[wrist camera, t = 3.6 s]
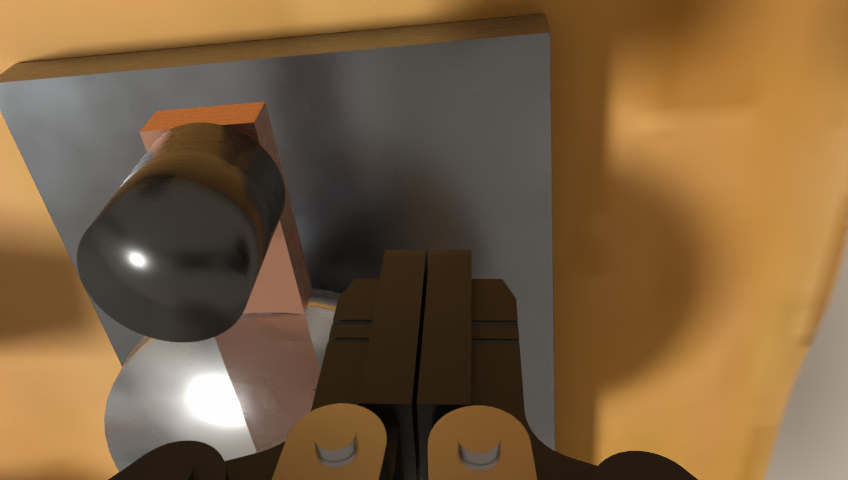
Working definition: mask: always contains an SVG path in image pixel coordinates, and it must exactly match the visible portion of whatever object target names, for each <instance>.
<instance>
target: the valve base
mask: <svg viewBox="0 0 848 480" xmlns="http://www.w3.org/2000/svg"><path fill="white" fill-rule="evenodd" d="M256 102H265V103H266V107H267V111H268V115H269V119H270V123H271V127H272V131H273V135H274V139H275V142H276V146H277V150H278V154H279V158H280V162H281V166H282V170H283V174H284V178H285V182H286V186H287V190H288V194H289V198H290V202H291V206H292V210H293V214H294V218H295V222H296V226H297V230H298V234H299V238H300V242H301V246H302V250H303V254H304V258H305V262H306V266H307V270H308V274H309V278H310V282H311V286H312V288H313V289H322V290H327V291H332V292H337V293H343V292H344V291H345V290H346V288H347V287H348V286H349V285H350V284H351V283H352V282H353V280H354V279H380V275H381V270H382V264H383V258H384V253H385V251H386V250H427V252H428V264H429V256H430V250H472V279H503V281H504V282H505V283H506V285H507V286H508V288H509V289H510V290H511V292H512V293H513V295H514V296H515V297H516V303H517V316H518V329H519V344H520V356H521V369H522V383H523V396H524V409H525V416H526V420H527V422H528V425H529V427H530V428H531V430H532V432H533V433H534V434H535V435H536V437H537V438H538V439H539V440H540V441H541V442H543V443H544V444H545V445H546V446H548V447H549V448H551V449H552V450H554V451H555V408H554V326H553V244H552V162H551V80H550V31H549V28H548V24H547V20H546V17H545V14H536V15H525V16H514V17H504V18H493V19H482V20H472V21H461V22H450V23H440V24H429V25H418V26H408V27H397V28H387V29H376V30H365V31H355V32H344V33H333V34H323V35H312V36H301V37H291V38H280V39H269V40H259V41H248V42H238V43H227V44H216V45H206V46H195V47H184V48H174V49H163V50H152V51H142V52H131V53H120V54H110V55H99V56H88V57H78V58H67V59H57V60H46V61H35V62H25V63H16V64H14V65H13V66H12V67H10V68H9V69H7V70H6V71H5V72H3V73H2V74H0V111H1V113H2V115H3V117H4V119H5V122H6V124H7V126H8V128H9V130H10V132H11V134H12V136H13V138H14V140H15V142H16V145H17V147H18V149H19V151H20V153H21V155H22V157H23V159H24V161H25V163H26V166H27V168H28V170H29V172H30V174H31V176H32V178H33V180H34V182H35V184H36V187H37V189H38V191H39V193H40V195H41V197H42V199H43V201H44V203H45V205H46V208H47V210H48V212H49V214H50V216H51V218H52V220H53V222H54V224H55V226H56V228H57V231H58V233H59V235H60V237H61V239H62V241H63V243H64V245H65V247H66V249H67V252H68V254H69V256H70V258H71V260H72V262H73V264H74V266H75V268H76V270H77V273H78V275H79V272H78V267H77V250H78V246H79V243H80V240H81V238H82V236H83V234H84V233H85V232H86V230H87V229H88V228H89V226H90V225H91V224H92V223H93V221H94V220H95V219H96V217H97V216H98V215H99V213H100V212H101V211H102V210H103V208H104V207H105V206H106V204H107V203H108V202H109V200H110V199H111V198H112V197H113V195H114V194H115V193H116V191H117V190H118V189H119V187H120V186H121V185H122V184H123V182H124V181H125V180H126V178H127V177H128V176H129V174H130V173H131V172H132V171H133V169H134V168H135V167H136V165H137V164H138V163H139V162H140V160H141V159H142V158H143V156H144V155H145V154H146V152H147V151H146V148H145V146H144V143H143V140H142V137H141V135H140V130H141V129H142V128H143V127H144V126H145V124H146V123H147V122H148V121H149V120H150V118H151V117H152V116H153V115H154V114H155V112H156V111H162V110H174V109H185V108H197V107H209V106H221V105H232V104H244V103H256ZM79 277H80V276H79ZM80 279H81V278H80ZM88 296H89V298H90V300H91V302H92V304H93V306H94V308H95V310H96V312H97V314H98V317H99V319H100V321H101V323H102V325H103V327H104V329H105V331H106V333H107V335H108V338H109V340H110V342H111V344H112V346H113V348H114V350H115V352H116V354H117V356H118V359H119V361H120V363H121V365H122V367H123V366H124V364H125V362H126V360H127V358H128V357H129V355H130V353H131V352H132V350H133V349H134V347H135V346H136V344H137V343H138V341H139V340H140V339H141V338H142V337H143V336H144V335H142V334H139V333H136V332H134V331H132V330H130V329H128V328H126V327H124V326H123V325H121V324H120V323H118V322H116V321H115V320H114V319H112V318H111V317H110V316H108V315H107V314H106V313H105V312H104V311H103V310H102V309H100V307H99V306H98V305H97V304H96V303H95V302H94V301H93V299H92V298H91V297H90V295H89V294H88Z"/></svg>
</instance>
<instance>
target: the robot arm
mask: <svg viewBox="0 0 848 480" xmlns="http://www.w3.org/2000/svg"><path fill="white" fill-rule="evenodd" d="M421 479H422V480H697V479H696V478H695V477H694V476H692V475H691V474H690V473H689V472H687V471H686V470H685V469H684V468H682V467H681V466H680V465H678V464H677V463H675V462H673V461H672V460H670V459H668V458H666V457H663V456H660V455H658V454H654V453H650V452H644V451H627V452H621V453H618V454H615V455H612V456H610V457H609V458H607V459H605V460H604V461H603V462H602V463H600V464H599V465H598V466H596V465H592V464H589V463H586V462H582V461H579V460H576V459H572V458H569V457H567V456H564V455H561V454H560V453H558V452H556V451H554V450H552V449H551V448H549V447H548V446H546V445H545V444H544V443H543V442H541V441H540V440H539V439H538V438H537V437H536V435H535V434H534V433H533V432H532V430H531V428H530V427H529V425H528V422H527V420H526V416H525V409H524V396H523V383H522V369H521V356H520V344H519V329H518V316H517V303H516V297H515V296H514V295H513V293H512V292H511V290H510V289H509V288H508V286H507V285H506V283H505V282H504V281H503V279H472V250H430V256H429V264H428V252H427V250H386V251H385V253H384V258H383V264H382V270H381V275H380V279H354V280H353V282H352V283H351V284H350V285H349V286H348V287H347V288H346V290H345V291H344V292H343V293H342V294H341V295H340V296H339V298H338V301H337V306H336V310H335V314H334V318H333V324H332V326H331V330H330V334H329V342H327V347H326V351H325V355H324V359H323V363H322V367H321V371H320V375H319V379H318V383H317V387H316V392H315V396H314V400H313V404H312V408H311V411H310V412H309V413H307V414H306V415H305V416H303V417H302V418H301V419H300V420H299V421H298V422H297V423H296V424H295V425H294V426H293V428H292V429H291V430H290V432H289V434H288V436H287V439H286V441H284V442H282V443H281V444H279V445H277V446H275V447H273V448H270V449H268V450H265V451H262V452H258V453H254V454H250V455H247V456H243V457H239V458H235V459H231V460H227V461H224V459H223V457H222V456H221V454H220V453H219V452H218V451H217V450H216V449H215V448H213V447H212V446H210V445H208V444H206V443H203V442H198V441H189V440H186V441H177V442H172V443H168V444H165V445H162V446H160V447H157V448H155V449H153V450H151V451H150V452H148V453H146V454H145V455H143V456H142V457H140V458H139V459H137V460H136V461H135V462H133V463H132V464H130V465H129V466H127V467H126V468H125V469H123V470H122V471H120V472H119V473H117V474H116V475H115V476H113V477H112V478H110V479H109V480H421Z"/></svg>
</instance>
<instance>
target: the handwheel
mask: <svg viewBox="0 0 848 480" xmlns="http://www.w3.org/2000/svg"><path fill="white" fill-rule="evenodd" d="M140 135H141V137H142V140H143V143H144V146H145V148H146V151H147V152H146V154H145V155H144V156H143V158H142V159H141V160H140V162H139V163H138V164H137V165H136V167H135V168H134V169H133V171H132V172H131V173H130V174H129V176H128V177H127V178H126V180H125V181H124V182H123V184H122V185H121V186H120V187H119V189H118V190H117V191H116V193H115V194H114V195H113V197H112V198H111V199H110V200H109V202H108V203H107V204H106V206H105V207H104V208H103V210H102V211H101V212H100V213H99V215H98V216H97V217H96V219H95V220H94V221H93V223H92V224H91V225H90V226H89V228H88V229H87V230H86V232H85V233H84V234H83V236H82V238H81V240H80V243H79V246H78V250H77V267H78V272H79V276H80V278H81V281H82V283H83V285H84V287H85V289H86V291H87V293H88V294H89V295H90V297H91V298H92V299H93V301H94V302H95V303H96V304H97V305H98V306H99V307H100V309H102V310H103V311H104V312H105V313H106V314H107V315H108V316H110V317H111V318H112V319H114V320H115V321H116V322H118V323H120V324H121V325H123V326H124V327H126V328H128V329H130V330H132V331H134V332H136V333H139V334H142V335H144V336H143V337H142V338H141V339H140V340H139V341H138V343H137V344H136V346H135V347H134V349H133V350H132V352H131V353H130V355H129V357H128V358H127V360H126V362H125V364H124V366H123V367H122V369H121V371H120V373H119V375H118V377H117V378H116V380H115V382H114V384H113V386H112V389H111V392H110V394H109V397H108V399H107V404H106V411H105V417H104V419H105V435H106V439H107V443H108V447H109V451H110V453H111V456H112V458H113V460H114V462H115V465H116V467H117V469H118V470H119V472H120V471H122V470H123V469H125V468H126V467H127V466H129V465H130V464H132V463H133V462H135V461H136V460H137V459H139V458H140V457H142V456H143V455H145V454H146V453H148V452H150V451H151V450H153V449H155V448H157V447H160V446H162V445H165V444H168V443H172V442H177V441H186V440H189V441H198V442H203V443H206V444H208V445H210V446H212V447H213V448H215V449H216V450H217V451H218V452H219V453H220V454H221V456H222V457H223V459H224V461H227V460H231V459H235V458H239V457H243V456H247V455H250V454H254V453H258V452H262V451H265V450H268V449H270V448H273V447H275V446H277V445H279V444H281V443H282V442H284V441H286V439H287V436H288V434H289V432H290V430H291V429H292V428H293V426H294V425H295V424H296V423H297V422H298V421H299V420H300V419H301V418H302V417H303V416H305V415H306V414H307V413H309V412H310V411H311V408H312V404H313V400H314V396H315V392H316V387H317V383H318V379H319V375H320V371H321V367H322V363H323V359H324V355H325V351H326V347H327V342H329V334H330V330H331V326H332V324H333V318H334V314H335V310H336V306H337V301H338V298H339V296H340V295H341V294H342V293H337V292H332V291H327V290H322V289H313V288H312V286H311V282H310V278H309V274H308V270H307V266H306V262H305V258H304V254H303V250H302V246H301V242H300V238H299V234H298V230H297V226H296V222H295V218H294V214H293V210H292V206H291V202H290V198H289V194H288V190H287V186H286V182H285V178H284V174H283V170H282V166H281V162H280V158H279V154H278V150H277V146H276V142H275V139H274V135H273V131H272V127H271V123H270V119H269V115H268V111H267V107H266V103H265V102H256V103H244V104H232V105H221V106H209V107H197V108H185V109H174V110H162V111H156V112H155V114H154V115H153V116H152V117H151V118H150V120H149V121H148V122H147V123H146V124H145V126H144V127H143V128H142V129H141V130H140ZM421 480H422V479H421Z"/></svg>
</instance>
